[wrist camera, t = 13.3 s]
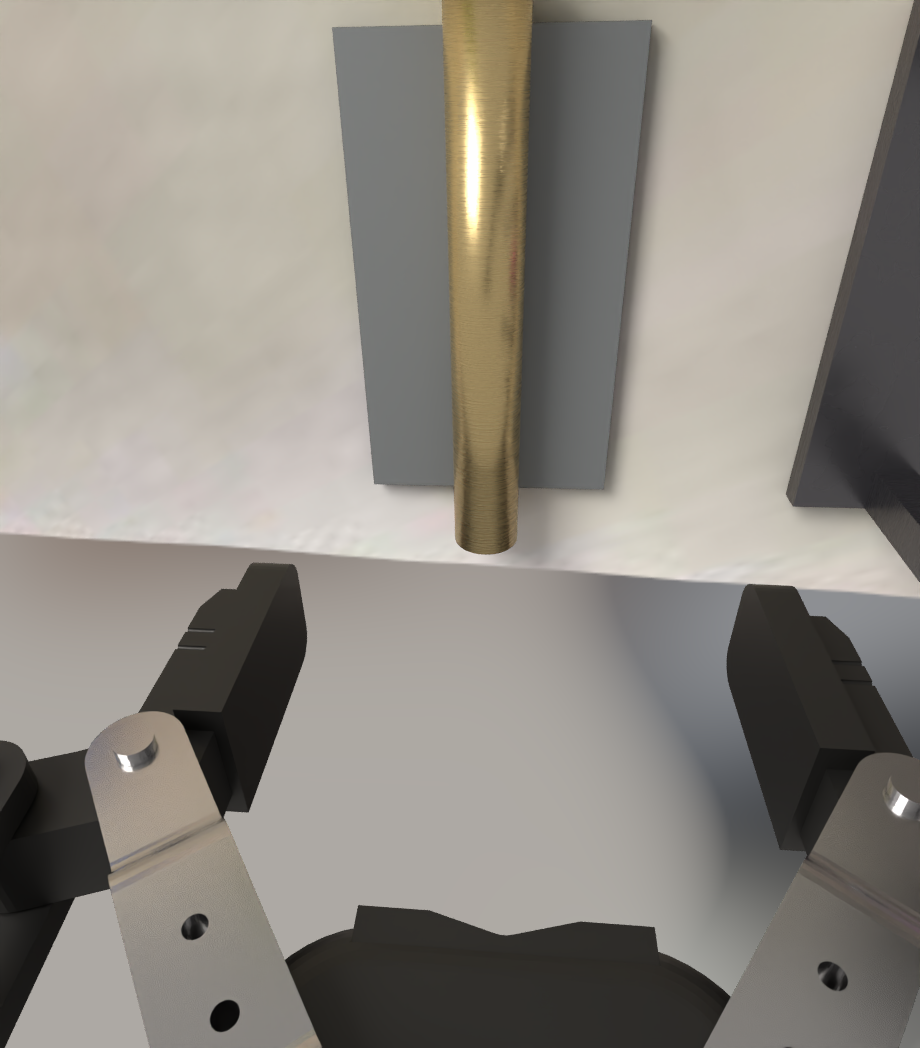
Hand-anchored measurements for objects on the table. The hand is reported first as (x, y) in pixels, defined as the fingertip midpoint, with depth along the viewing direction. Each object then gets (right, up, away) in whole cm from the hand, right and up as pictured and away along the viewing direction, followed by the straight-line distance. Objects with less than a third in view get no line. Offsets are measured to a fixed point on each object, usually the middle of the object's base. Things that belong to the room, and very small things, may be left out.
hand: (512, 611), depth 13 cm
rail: (0, +11, +18) cm, 21 cm away
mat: (0, +12, +20) cm, 24 cm away
